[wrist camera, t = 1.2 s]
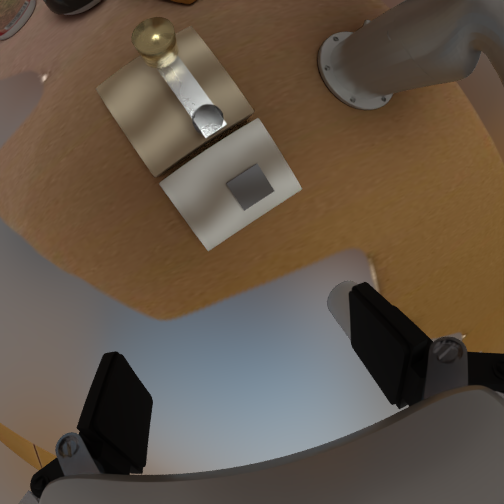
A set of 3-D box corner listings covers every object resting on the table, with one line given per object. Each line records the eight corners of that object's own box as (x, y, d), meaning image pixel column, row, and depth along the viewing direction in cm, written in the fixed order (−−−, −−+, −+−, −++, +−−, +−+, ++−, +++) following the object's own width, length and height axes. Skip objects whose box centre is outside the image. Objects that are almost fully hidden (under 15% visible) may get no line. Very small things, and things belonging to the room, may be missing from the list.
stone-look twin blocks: (106, 95, 26) (93, 87, 22) (192, 38, 26) (190, 23, 22) (207, 241, 35) (208, 253, 31) (291, 185, 34) (304, 189, 30)
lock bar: (229, 125, 27) (238, 112, 19) (201, 143, 27) (198, 136, 19) (171, 44, 22) (161, 10, 15) (143, 61, 23) (124, 32, 15)
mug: (317, 306, 41) (350, 354, 30) (342, 271, 40) (385, 311, 29) (356, 327, 44) (391, 369, 33) (380, 296, 43) (421, 334, 32)
